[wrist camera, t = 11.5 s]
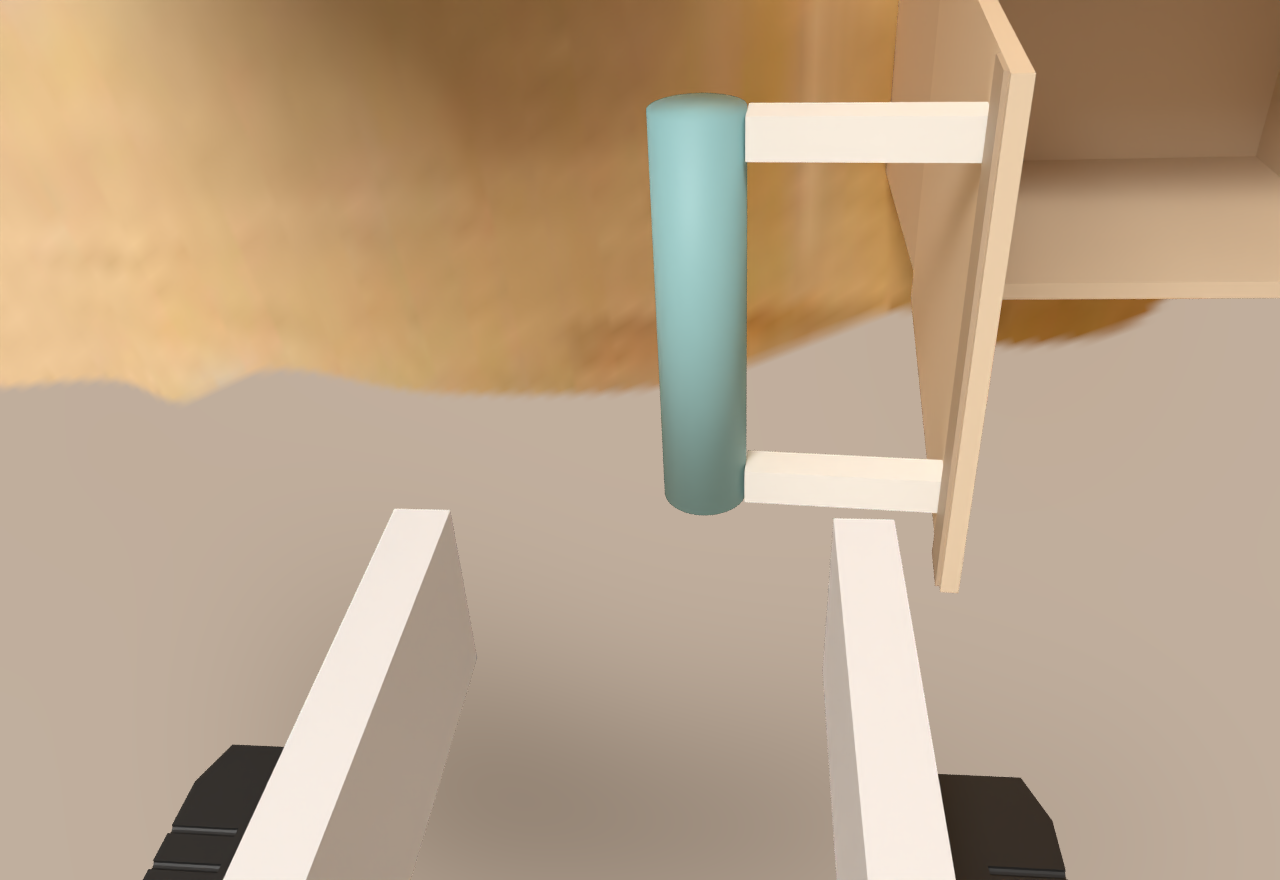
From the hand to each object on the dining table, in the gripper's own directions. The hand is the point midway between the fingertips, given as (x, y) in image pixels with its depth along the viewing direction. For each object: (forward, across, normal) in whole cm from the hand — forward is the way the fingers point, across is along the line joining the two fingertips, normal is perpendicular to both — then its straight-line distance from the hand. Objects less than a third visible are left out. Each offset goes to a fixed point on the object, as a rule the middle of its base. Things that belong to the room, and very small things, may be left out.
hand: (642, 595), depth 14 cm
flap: (+16, +7, -1) cm, 17 cm away
